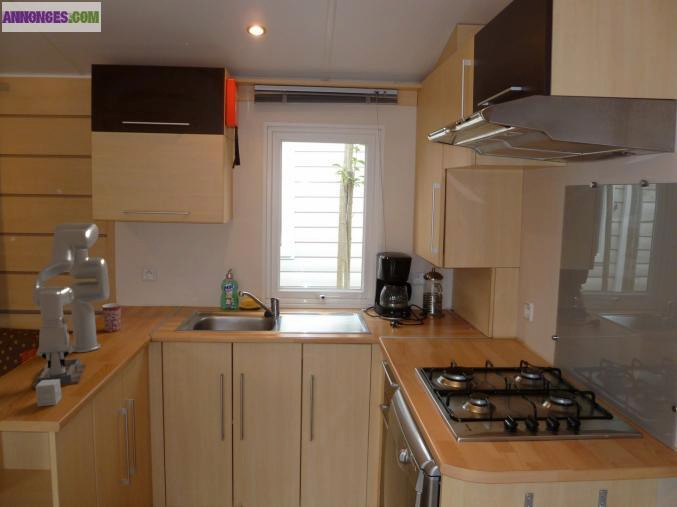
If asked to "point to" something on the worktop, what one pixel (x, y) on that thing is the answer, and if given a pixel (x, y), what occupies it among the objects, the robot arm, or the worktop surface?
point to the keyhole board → (75, 378)
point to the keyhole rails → (63, 378)
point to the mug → (112, 317)
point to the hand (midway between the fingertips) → (56, 368)
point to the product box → (48, 392)
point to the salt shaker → (56, 364)
